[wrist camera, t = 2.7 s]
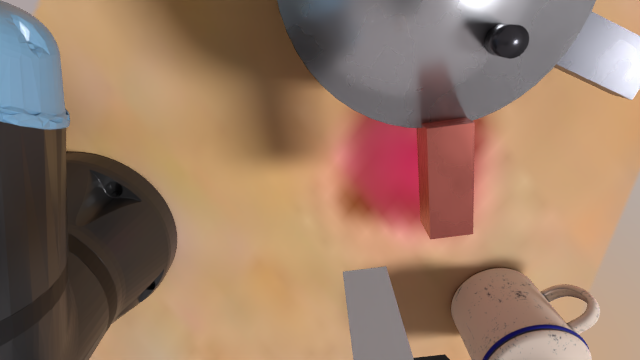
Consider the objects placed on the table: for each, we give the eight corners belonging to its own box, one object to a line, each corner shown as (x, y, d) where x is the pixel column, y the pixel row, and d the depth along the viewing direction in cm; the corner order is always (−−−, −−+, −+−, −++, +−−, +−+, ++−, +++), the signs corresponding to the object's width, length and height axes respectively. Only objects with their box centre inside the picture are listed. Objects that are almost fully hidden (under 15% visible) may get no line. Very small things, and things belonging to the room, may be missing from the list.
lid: (244, -214, 18) (230, -264, 15) (620, -274, 18) (691, -339, 15) (314, 234, 27) (315, 264, 24) (567, 202, 27) (603, 229, 23)
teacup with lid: (475, 349, 44) (529, 459, 33) (430, 296, 41) (473, 397, 30) (578, 292, 41) (673, 391, 30) (537, 230, 38) (626, 316, 28)
